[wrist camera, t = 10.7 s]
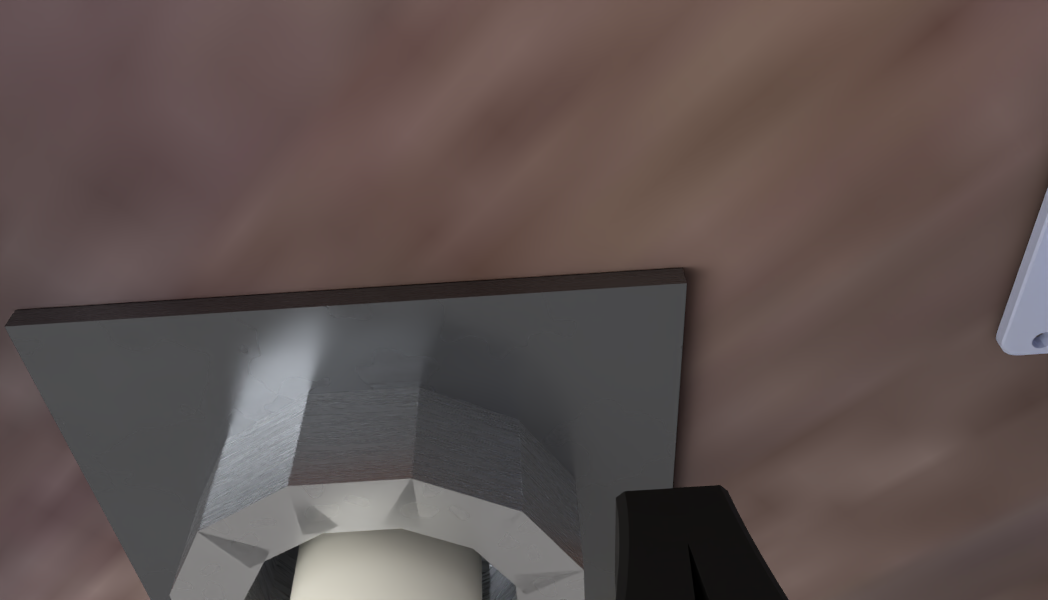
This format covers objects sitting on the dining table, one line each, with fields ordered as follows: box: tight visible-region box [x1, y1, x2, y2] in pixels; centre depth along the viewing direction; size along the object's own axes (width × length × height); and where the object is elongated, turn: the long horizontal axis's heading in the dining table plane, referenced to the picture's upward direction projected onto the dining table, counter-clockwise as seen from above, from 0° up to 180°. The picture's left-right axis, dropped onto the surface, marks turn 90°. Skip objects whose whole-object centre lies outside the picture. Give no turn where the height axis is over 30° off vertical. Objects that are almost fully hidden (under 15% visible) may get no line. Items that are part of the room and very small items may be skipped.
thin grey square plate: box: [5, 268, 687, 600], centre depth 25 cm, size 16×16×4 cm
